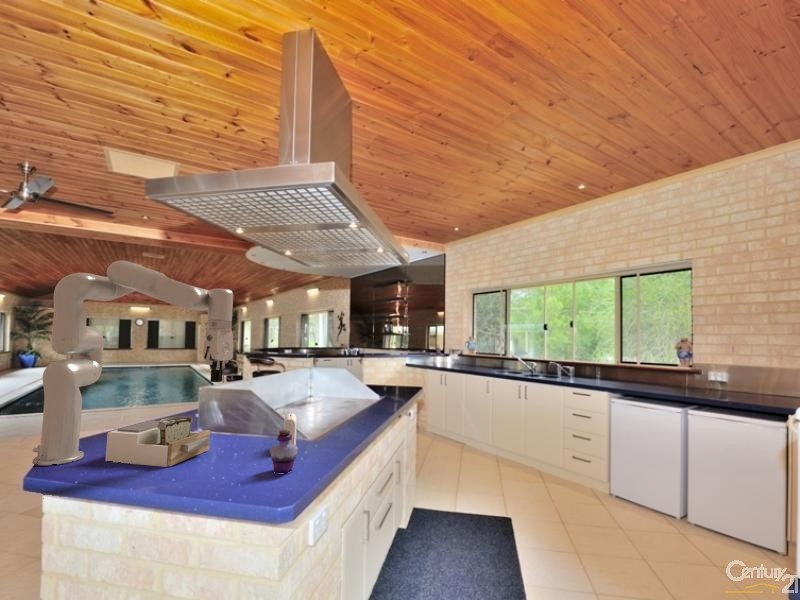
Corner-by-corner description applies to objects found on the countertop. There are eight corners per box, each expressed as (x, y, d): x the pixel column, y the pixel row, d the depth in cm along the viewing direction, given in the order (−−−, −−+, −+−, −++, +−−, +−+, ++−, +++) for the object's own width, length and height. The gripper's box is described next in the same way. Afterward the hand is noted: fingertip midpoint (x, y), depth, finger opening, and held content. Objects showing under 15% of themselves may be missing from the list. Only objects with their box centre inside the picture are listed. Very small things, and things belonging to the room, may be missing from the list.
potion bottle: (288, 465, 130) (289, 426, 131) (303, 471, 124) (304, 431, 125) (262, 471, 124) (264, 430, 125) (277, 478, 118) (279, 435, 119)
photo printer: (294, 452, 143) (296, 416, 144) (281, 453, 142) (283, 416, 143) (296, 445, 153) (297, 411, 154) (284, 445, 152) (285, 411, 154)
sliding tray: (215, 450, 143) (216, 430, 144) (177, 466, 125) (179, 444, 126) (179, 447, 146) (180, 428, 146) (137, 463, 128) (138, 441, 128)
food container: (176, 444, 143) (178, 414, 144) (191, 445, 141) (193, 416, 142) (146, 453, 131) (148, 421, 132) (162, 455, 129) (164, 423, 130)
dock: (205, 450, 144) (207, 422, 145) (166, 466, 126) (168, 434, 127) (150, 446, 148) (152, 418, 149) (105, 461, 130) (107, 430, 131)
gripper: (215, 325, 129) (212, 384, 127) (242, 326, 143) (239, 379, 142) (194, 325, 130) (190, 383, 129) (222, 326, 145) (219, 379, 143)
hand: (216, 381), depth 135 cm, fingers closed
